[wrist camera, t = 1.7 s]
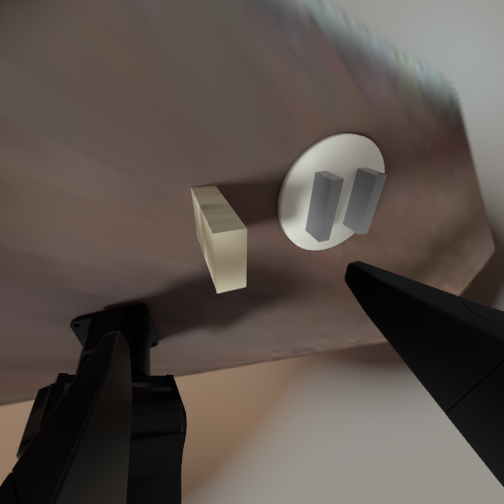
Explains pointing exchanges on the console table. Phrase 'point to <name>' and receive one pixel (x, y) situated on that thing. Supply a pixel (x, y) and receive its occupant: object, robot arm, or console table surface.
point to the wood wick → (220, 238)
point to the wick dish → (331, 191)
